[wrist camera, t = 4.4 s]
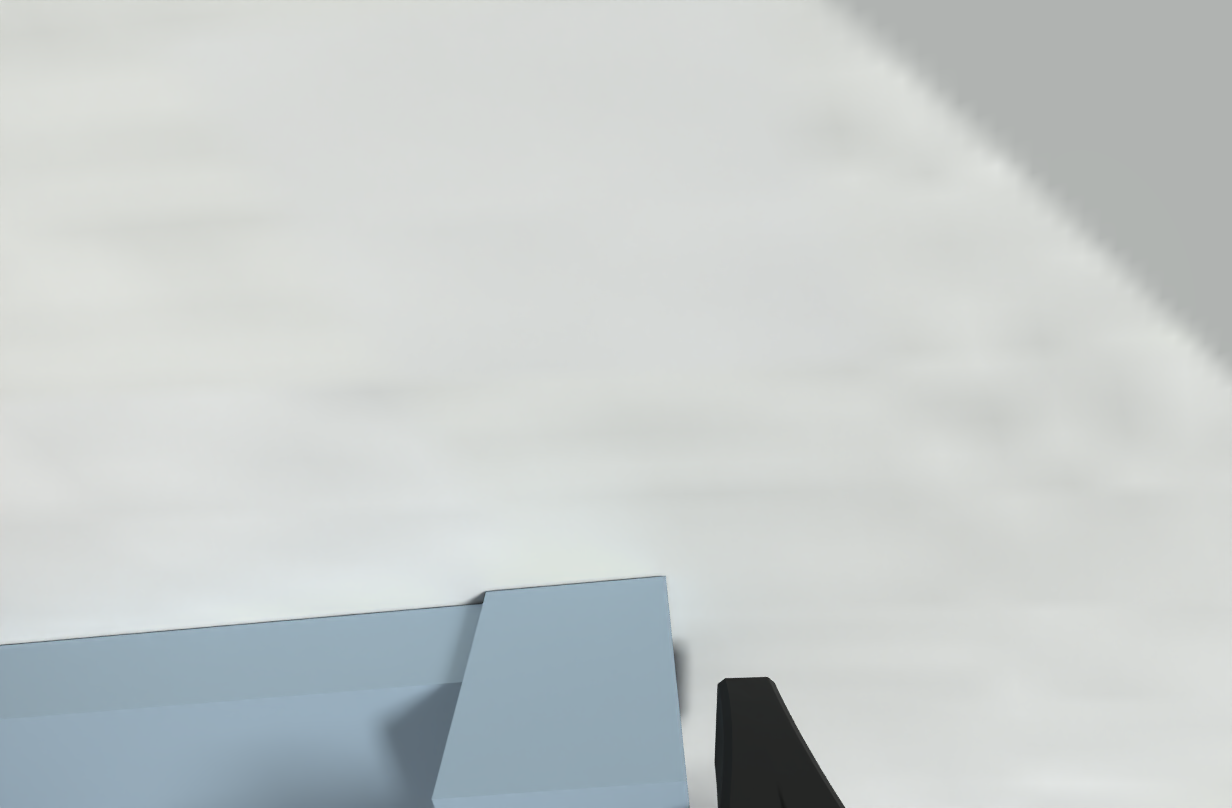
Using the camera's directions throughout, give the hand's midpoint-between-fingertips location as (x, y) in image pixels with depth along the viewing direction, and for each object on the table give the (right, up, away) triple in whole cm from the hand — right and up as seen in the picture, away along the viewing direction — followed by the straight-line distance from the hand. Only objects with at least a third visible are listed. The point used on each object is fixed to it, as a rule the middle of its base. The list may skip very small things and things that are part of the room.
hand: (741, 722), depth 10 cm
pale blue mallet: (-9, 0, +2) cm, 9 cm away
